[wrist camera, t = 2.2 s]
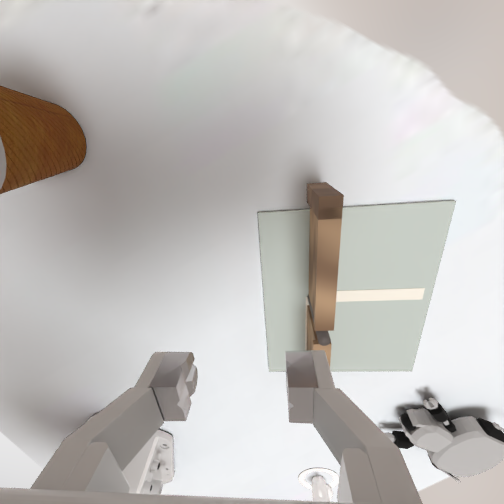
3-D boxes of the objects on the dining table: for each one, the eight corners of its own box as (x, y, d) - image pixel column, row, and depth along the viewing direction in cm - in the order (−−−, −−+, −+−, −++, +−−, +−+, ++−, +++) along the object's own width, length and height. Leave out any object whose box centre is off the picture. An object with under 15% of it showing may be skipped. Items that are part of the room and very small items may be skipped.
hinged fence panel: (321, 293, 29) (334, 330, 23) (306, 294, 29) (314, 331, 24) (325, 182, 24) (343, 195, 18) (307, 183, 24) (318, 196, 18)
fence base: (316, 371, 36) (327, 424, 29) (304, 371, 36) (312, 424, 29) (319, 292, 30) (334, 336, 23) (304, 292, 30) (315, 336, 24)
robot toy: (371, 422, 42) (448, 456, 42) (380, 452, 38) (465, 489, 38) (421, 377, 37) (506, 417, 37) (438, 406, 33) (534, 450, 33)
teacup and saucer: (331, 491, 50) (336, 519, 47) (293, 485, 50) (294, 512, 47) (344, 468, 47) (351, 497, 43) (303, 462, 47) (306, 489, 43)
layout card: (410, 368, 35) (412, 371, 34) (269, 369, 37) (269, 372, 36) (453, 200, 25) (456, 201, 25) (257, 212, 27) (257, 213, 26)
